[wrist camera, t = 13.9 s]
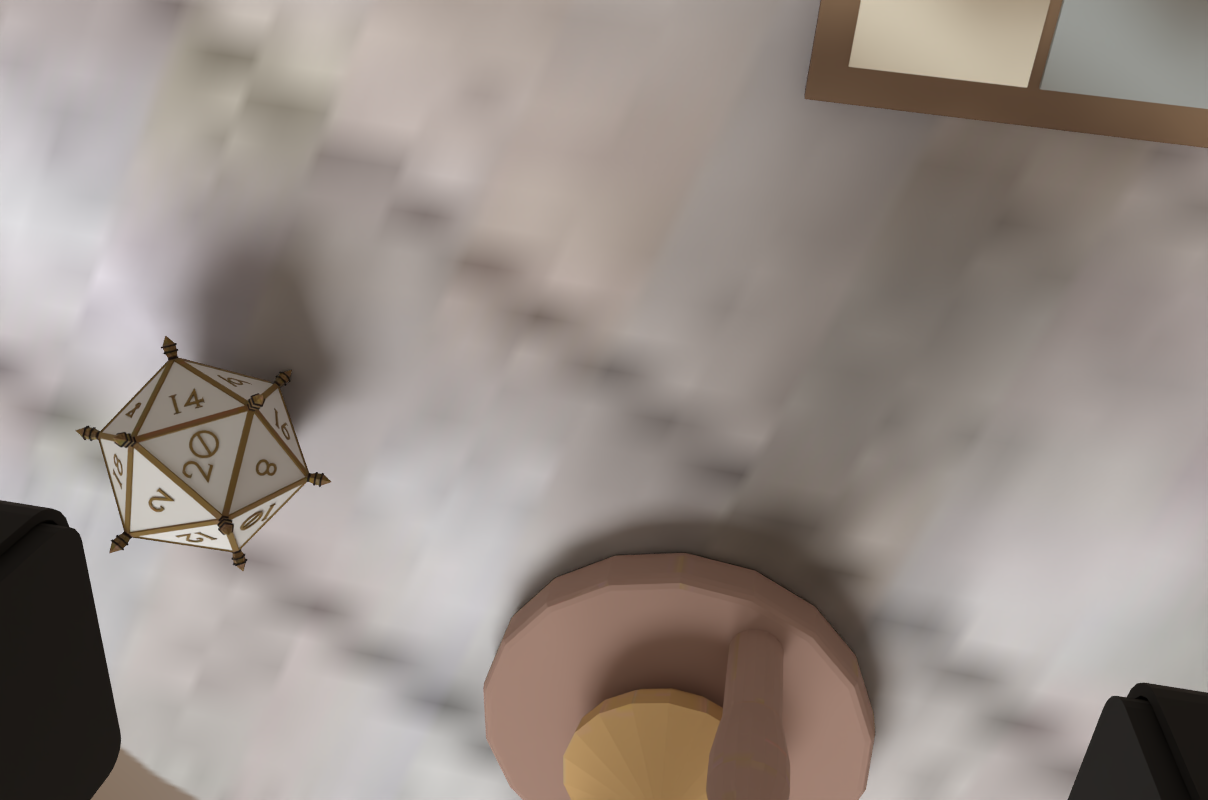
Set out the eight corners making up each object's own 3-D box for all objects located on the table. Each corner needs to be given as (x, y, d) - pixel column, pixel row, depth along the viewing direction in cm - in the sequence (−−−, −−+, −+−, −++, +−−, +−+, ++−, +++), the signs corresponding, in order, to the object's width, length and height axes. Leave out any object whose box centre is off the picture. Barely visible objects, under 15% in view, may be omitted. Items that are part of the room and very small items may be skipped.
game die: (259, 342, 48) (94, 278, 38) (400, 425, 45) (260, 377, 35) (164, 515, 48) (-25, 493, 38) (300, 609, 45) (132, 611, 35)
